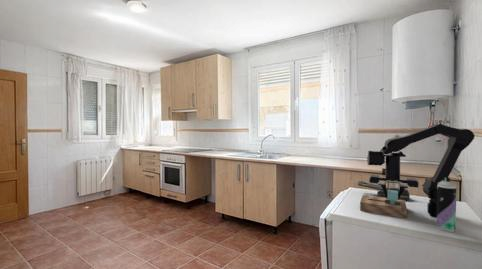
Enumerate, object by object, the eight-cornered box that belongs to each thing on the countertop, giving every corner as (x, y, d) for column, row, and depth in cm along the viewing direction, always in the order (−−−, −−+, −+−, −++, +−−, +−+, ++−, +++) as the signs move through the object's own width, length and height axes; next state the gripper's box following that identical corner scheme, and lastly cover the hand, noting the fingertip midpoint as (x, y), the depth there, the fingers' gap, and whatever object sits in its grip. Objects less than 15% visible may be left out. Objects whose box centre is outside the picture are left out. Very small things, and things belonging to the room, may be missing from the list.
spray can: (437, 229, 89) (438, 178, 88) (435, 224, 93) (436, 175, 92) (457, 233, 86) (458, 179, 85) (453, 227, 90) (454, 176, 89)
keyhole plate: (404, 208, 111) (404, 200, 111) (406, 217, 100) (406, 208, 100) (362, 202, 120) (362, 194, 120) (360, 210, 109) (360, 202, 109)
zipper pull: (358, 180, 140) (409, 185, 127) (358, 191, 141) (408, 197, 127) (356, 183, 133) (410, 189, 119) (356, 195, 133) (410, 202, 120)
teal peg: (397, 209, 109) (397, 190, 108) (397, 212, 105) (397, 193, 105) (387, 208, 111) (387, 189, 110) (387, 210, 107) (387, 191, 107)
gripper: (415, 164, 109) (415, 197, 110) (370, 162, 119) (370, 191, 120) (418, 168, 100) (418, 204, 100) (369, 165, 110) (369, 197, 110)
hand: (392, 199), depth 108 cm, fingers closed on teal peg, 4 cm apart
